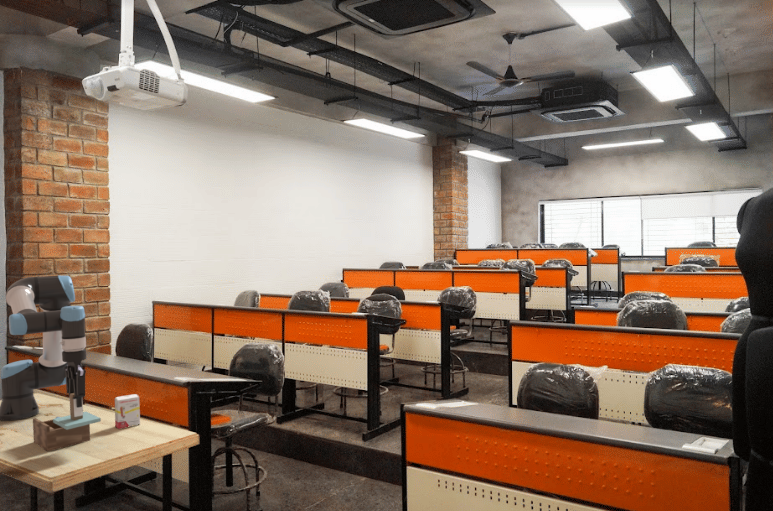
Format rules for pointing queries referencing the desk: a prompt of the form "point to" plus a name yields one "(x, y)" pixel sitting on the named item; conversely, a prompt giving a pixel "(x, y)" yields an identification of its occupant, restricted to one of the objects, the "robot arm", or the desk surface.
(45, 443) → the walnut box
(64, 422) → the lid
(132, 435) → the desk surface
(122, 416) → the ink box
